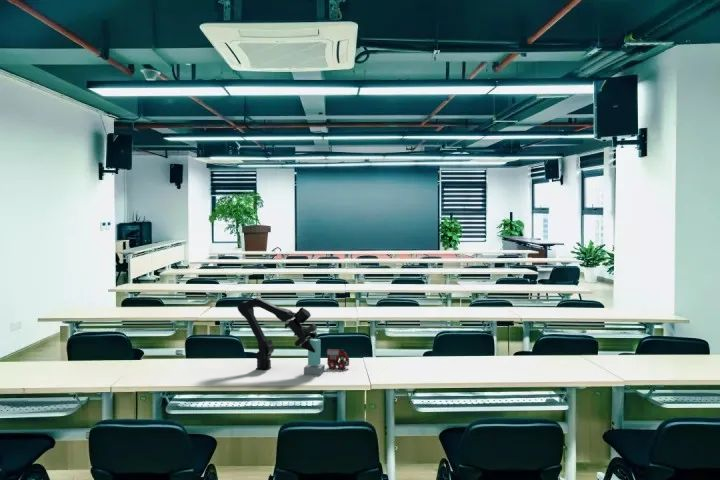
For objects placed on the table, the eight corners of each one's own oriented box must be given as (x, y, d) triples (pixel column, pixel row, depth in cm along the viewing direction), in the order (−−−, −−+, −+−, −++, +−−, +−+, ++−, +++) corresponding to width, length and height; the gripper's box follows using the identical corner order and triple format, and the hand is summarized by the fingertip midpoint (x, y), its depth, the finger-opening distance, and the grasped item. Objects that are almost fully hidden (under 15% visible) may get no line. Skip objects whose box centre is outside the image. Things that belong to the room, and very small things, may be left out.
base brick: (303, 375, 328) (303, 367, 327) (308, 371, 336) (308, 363, 336) (320, 376, 326) (320, 368, 326) (324, 372, 335) (324, 364, 335)
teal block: (308, 364, 330) (308, 340, 329) (311, 363, 334) (311, 338, 334) (316, 365, 328) (316, 341, 328) (320, 363, 333) (320, 339, 332)
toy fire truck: (348, 370, 339) (348, 350, 339) (325, 369, 341) (325, 350, 340) (349, 367, 346) (350, 348, 346) (327, 366, 347) (327, 347, 347)
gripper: (300, 321, 323) (319, 344, 320) (314, 316, 341) (333, 338, 337) (286, 335, 326) (305, 358, 322) (301, 330, 343) (319, 351, 340)
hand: (316, 351), depth 331 cm, fingers closed on teal block, 5 cm apart
